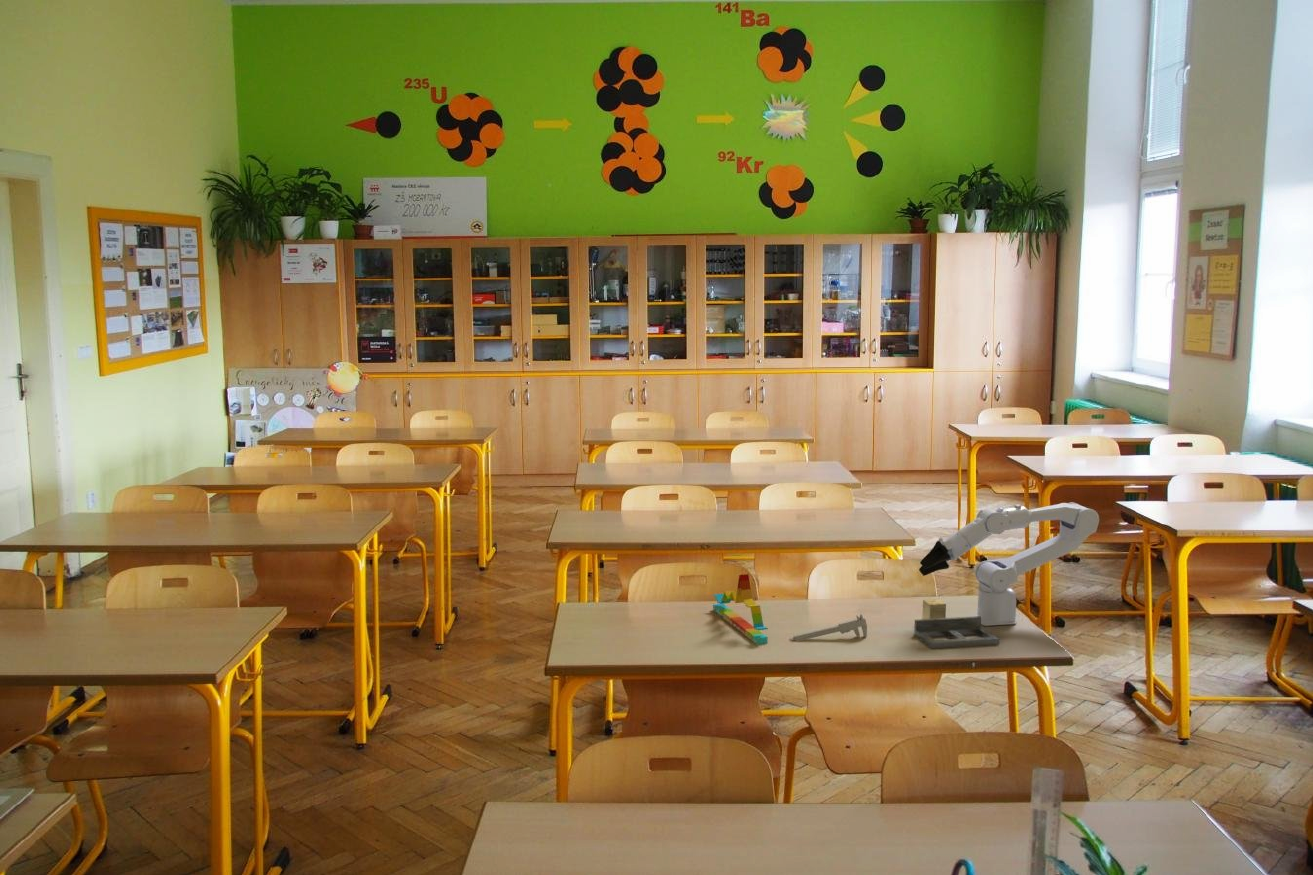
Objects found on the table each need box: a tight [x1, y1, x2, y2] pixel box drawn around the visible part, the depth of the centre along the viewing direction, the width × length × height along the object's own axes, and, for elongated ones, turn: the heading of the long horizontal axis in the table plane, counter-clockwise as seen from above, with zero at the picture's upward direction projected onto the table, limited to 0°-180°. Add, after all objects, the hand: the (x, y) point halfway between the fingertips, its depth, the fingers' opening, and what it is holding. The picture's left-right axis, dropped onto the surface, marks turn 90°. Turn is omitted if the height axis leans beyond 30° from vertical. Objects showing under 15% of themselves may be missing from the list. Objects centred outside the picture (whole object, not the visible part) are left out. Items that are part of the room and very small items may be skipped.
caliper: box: [788, 613, 868, 642], centre depth 281 cm, size 21×1×6 cm, turn 99°
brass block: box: [921, 598, 947, 619], centre depth 294 cm, size 4×4×6 cm
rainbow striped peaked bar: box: [712, 573, 769, 645], centre depth 291 cm, size 30×3×15 cm, turn 18°
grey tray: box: [913, 616, 1000, 650], centre depth 281 cm, size 18×11×4 cm, turn 100°
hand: (921, 569), depth 291 cm, fingers open, 7 cm apart
